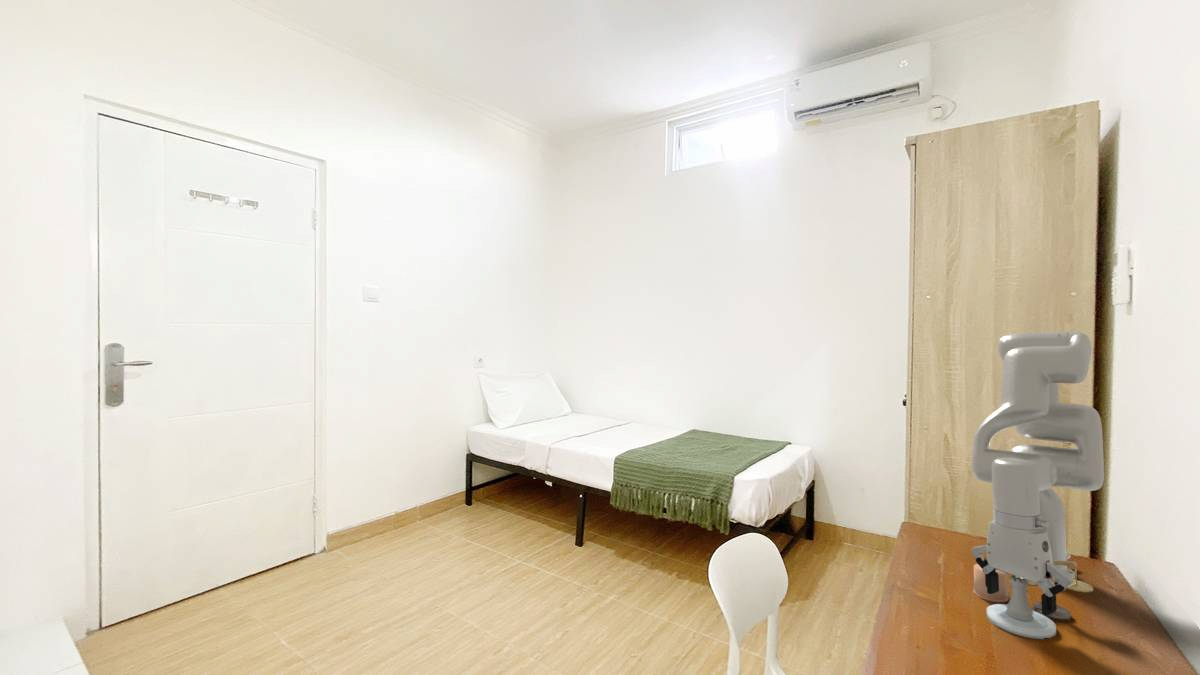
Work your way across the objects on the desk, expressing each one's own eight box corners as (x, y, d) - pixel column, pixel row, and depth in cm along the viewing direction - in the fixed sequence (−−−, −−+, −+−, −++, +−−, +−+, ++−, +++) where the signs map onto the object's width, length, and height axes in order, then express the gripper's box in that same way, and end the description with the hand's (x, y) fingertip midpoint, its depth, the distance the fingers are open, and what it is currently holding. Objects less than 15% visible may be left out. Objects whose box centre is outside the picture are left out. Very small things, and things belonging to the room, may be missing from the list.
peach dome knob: (983, 586, 120) (982, 561, 120) (1014, 598, 114) (1013, 571, 114) (967, 592, 117) (966, 566, 117) (998, 605, 111) (997, 578, 111)
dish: (1004, 604, 111) (1004, 598, 111) (1067, 629, 101) (1067, 623, 101) (975, 617, 107) (975, 611, 107) (1038, 644, 97) (1038, 637, 97)
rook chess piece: (1039, 623, 102) (1037, 583, 102) (1014, 621, 102) (1012, 581, 103) (1025, 611, 106) (1024, 573, 106) (1001, 610, 107) (999, 572, 107)
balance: (1021, 596, 115) (1019, 541, 115) (1100, 625, 102) (1098, 564, 103) (1007, 602, 112) (1004, 546, 112) (1086, 633, 100) (1083, 570, 100)
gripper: (1079, 529, 98) (1082, 618, 98) (980, 505, 114) (983, 581, 114) (1059, 536, 95) (1062, 628, 95) (960, 510, 111) (963, 588, 110)
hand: (1019, 602), depth 104 cm, fingers open, 9 cm apart
